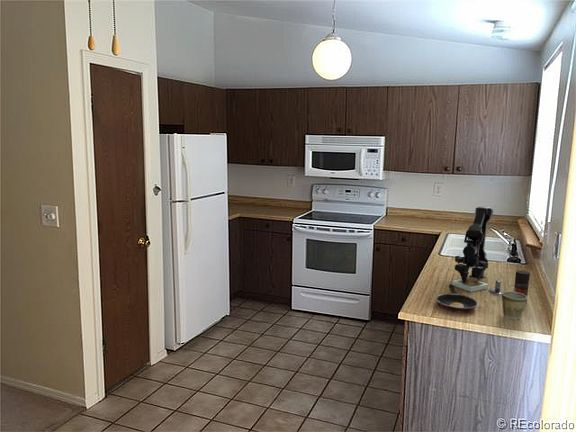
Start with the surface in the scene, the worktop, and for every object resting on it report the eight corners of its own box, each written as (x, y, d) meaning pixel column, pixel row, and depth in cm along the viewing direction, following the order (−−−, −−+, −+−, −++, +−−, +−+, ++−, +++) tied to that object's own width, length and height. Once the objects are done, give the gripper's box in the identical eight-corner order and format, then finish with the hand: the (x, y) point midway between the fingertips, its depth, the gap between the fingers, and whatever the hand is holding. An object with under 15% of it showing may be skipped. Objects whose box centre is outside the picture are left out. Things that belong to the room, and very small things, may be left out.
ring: (469, 283, 251) (468, 277, 251) (483, 284, 243) (482, 278, 243) (460, 285, 248) (459, 279, 248) (473, 286, 240) (473, 280, 240)
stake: (495, 288, 245) (496, 277, 244) (509, 293, 238) (511, 282, 236) (484, 291, 241) (485, 280, 240) (498, 296, 234) (500, 284, 232)
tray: (468, 282, 255) (468, 277, 254) (487, 289, 244) (488, 284, 244) (451, 285, 249) (452, 280, 249) (471, 292, 238) (471, 287, 238)
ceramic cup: (517, 323, 201) (519, 300, 199) (495, 315, 209) (497, 294, 207) (532, 316, 209) (535, 294, 207) (510, 309, 217) (513, 288, 215)
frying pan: (436, 312, 212) (437, 304, 212) (430, 289, 243) (431, 282, 242) (481, 316, 208) (482, 308, 208) (469, 292, 239) (470, 285, 239)
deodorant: (509, 300, 228) (513, 270, 225) (519, 299, 230) (522, 269, 227) (519, 305, 222) (523, 274, 220) (529, 303, 224) (532, 273, 222)
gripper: (472, 247, 255) (469, 275, 258) (447, 251, 246) (445, 280, 249) (489, 252, 245) (487, 281, 248) (464, 256, 236) (462, 286, 239)
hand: (470, 282), depth 246 cm, fingers open, 9 cm apart
